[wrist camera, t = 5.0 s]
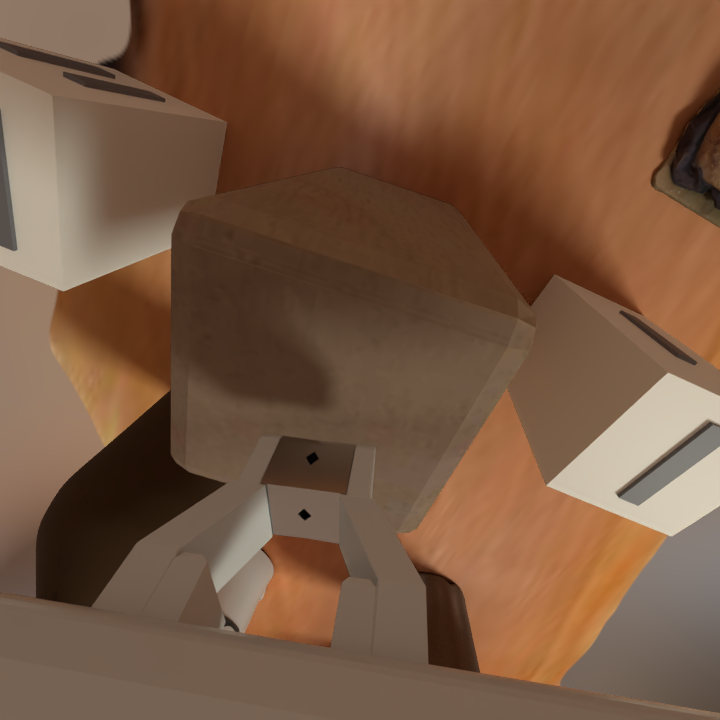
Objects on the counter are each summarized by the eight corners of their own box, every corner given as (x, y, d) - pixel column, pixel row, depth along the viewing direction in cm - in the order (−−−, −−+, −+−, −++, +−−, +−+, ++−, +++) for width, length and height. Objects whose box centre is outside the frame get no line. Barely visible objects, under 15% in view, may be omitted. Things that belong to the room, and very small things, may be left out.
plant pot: (469, 557, 46) (493, 732, 32) (489, 621, 53) (517, 787, 39) (351, 566, 50) (328, 723, 36) (385, 624, 57) (376, 774, 43)
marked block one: (573, 391, 32) (673, 539, 20) (494, 356, 31) (547, 488, 19) (645, 313, 28) (829, 442, 15) (556, 271, 27) (675, 371, 15)
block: (330, 162, 25) (150, 188, 8) (464, 207, 25) (567, 326, 8) (302, 291, 30) (158, 475, 13) (414, 327, 31) (414, 552, 14)
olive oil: (255, 333, 33) (-35, 673, 12) (305, 420, 37) (162, 778, 16) (167, 363, 36) (-192, 675, 15) (223, 439, 41) (11, 762, 19)
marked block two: (208, 232, 29) (59, 292, 17) (111, 190, 28) (-120, 220, 16) (227, 119, 25) (47, 88, 12) (114, 65, 24) (-197, -24, 12)
